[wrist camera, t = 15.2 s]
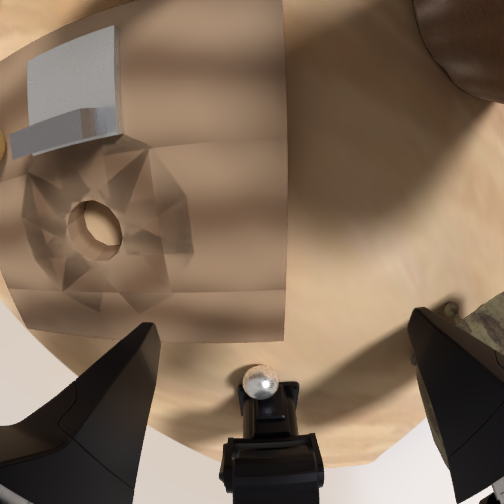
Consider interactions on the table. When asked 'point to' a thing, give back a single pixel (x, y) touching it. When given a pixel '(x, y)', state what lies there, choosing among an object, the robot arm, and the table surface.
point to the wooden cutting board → (159, 182)
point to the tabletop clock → (480, 326)
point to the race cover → (72, 94)
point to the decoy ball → (2, 145)
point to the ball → (260, 382)
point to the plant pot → (466, 42)
